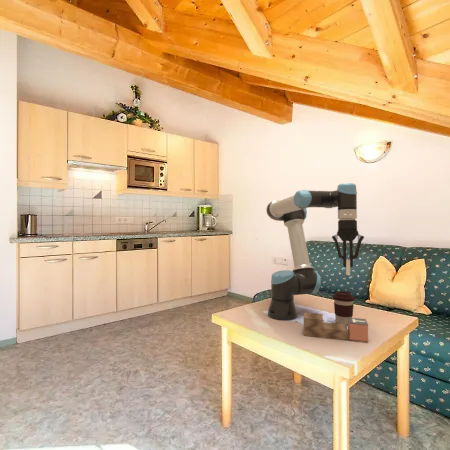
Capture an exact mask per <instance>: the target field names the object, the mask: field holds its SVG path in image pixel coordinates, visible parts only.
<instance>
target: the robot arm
mask: <svg viewBox="0 0 450 450" xmlns="http://www.w3.org/2000/svg"><path fill="white" fill-rule="evenodd" d="M357 195H358V192H357V185H356V183H351V182H346V183H340V184H338V185H337V187H336V190H329V191H328V190H307V189H303V190H297V191H296V192H295V193H294V195H292V196H289V197H286V198H283V199H281V200H278V199H277V200H273V201H270V202H269V203H268V204H267V206H266V214H267V216H268V217H269V218H270V219H271V220H274V221H277V222H281V221H282V222H283V224H284V227H286V228H287V233H288V240H289V244H290V249H291V255H292V256H291V257H292V260H293V266H294V268H293V269H292V270H288V269H286V270H278V271H275V272H273V273H272V274H271V280H270V283H271V285H270V287H271V292H270V293H271V294H270V295H271V301H270V304H269V307H268V311H267V314H268V315H267V316H268V317H270V318H272V319H273V320H274V319H275V320H279V321H280V320H283V321H289V320H290V321H291V320H295V319H297V318H298V310H297V307H296V304H295V299H294V296H299V295H301V296H302V295H311V294H312V295H313V294H316V293H317V292H319V291H320V288H321V284H322V281H321V280H322V279H321V276H320V274H319V273H318V272H317V271H315V268H314V267H313V265H311V263H310V257H309V252H308V247H307V242H306V237H305V231H304V227H303V224H304V223H305V220H306V218H307V217H308V212H307V211H308V210H307V209H308V208H324V209H333V208H337V219H338V221H337V231H336V234H333V235H332V236H331V239H332V240H333V241H334V245H335V248H336V252H337V255H338V258H340V259H342V267H344V268H345V275H346V276H351V268H353V267H354V260H355V259H357V258H358V256H359V252H360V249H361V246H362V245H361V244H362V241H363V240H364V238H365V236H364V235H362V234H360V233H359V231H358V221H357V218H358V212H357V211H358V210H357V209H358V207H357V206H358V204H357V202H358V201H357V200H358V197H357ZM356 238H357V241H356V245H355V246H356V247H355V250H354V248H353V247H354V245H353V243H354V241H355V239H356ZM338 239H340V240H341V241H342V252H341V248H340V246H339V245H340V244H339V241H338ZM347 242H348V244H349V245H348V246H349V248H348V249H349V251H348V253H349V255H348V256H349V258H347Z"/></svg>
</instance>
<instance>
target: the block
mask: <svg viewBox="0 0 450 450" xmlns="http://www.w3.org/2000/svg"><path fill="white" fill-rule="evenodd" d="M347 329H348V335H349V339H351V340H360V341H368V342H369V323H368V322H367V320H366V318H359V317H358V318H357V317H352V318H348V325H347Z"/></svg>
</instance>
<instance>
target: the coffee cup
mask: <svg viewBox="0 0 450 450" xmlns="http://www.w3.org/2000/svg"><path fill="white" fill-rule="evenodd" d="M332 299H333V300H334V302H333V308H334V316H335V322H336V324H346V325H347V326H348V318H353V315H354V301H355V300H356V296H354V295H353V294H352V293H351V292H349V291H342V290H341V291H340V290H339V291H336V292H335V293H334V294H333V295H332Z"/></svg>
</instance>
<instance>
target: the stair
mask: <svg viewBox="0 0 450 450" xmlns="http://www.w3.org/2000/svg"><path fill="white" fill-rule="evenodd" d="M303 336H304V337H312V338H322V339H329V340H330V339H331V340H338V341H339V340H340V341H349V342H356V343H367V344H368V342H369V340H368V341H360V340H351V339H349V335H348V325H346V324H337V323H333V322H324V314H322V313H312V312H304V313H303Z"/></svg>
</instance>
